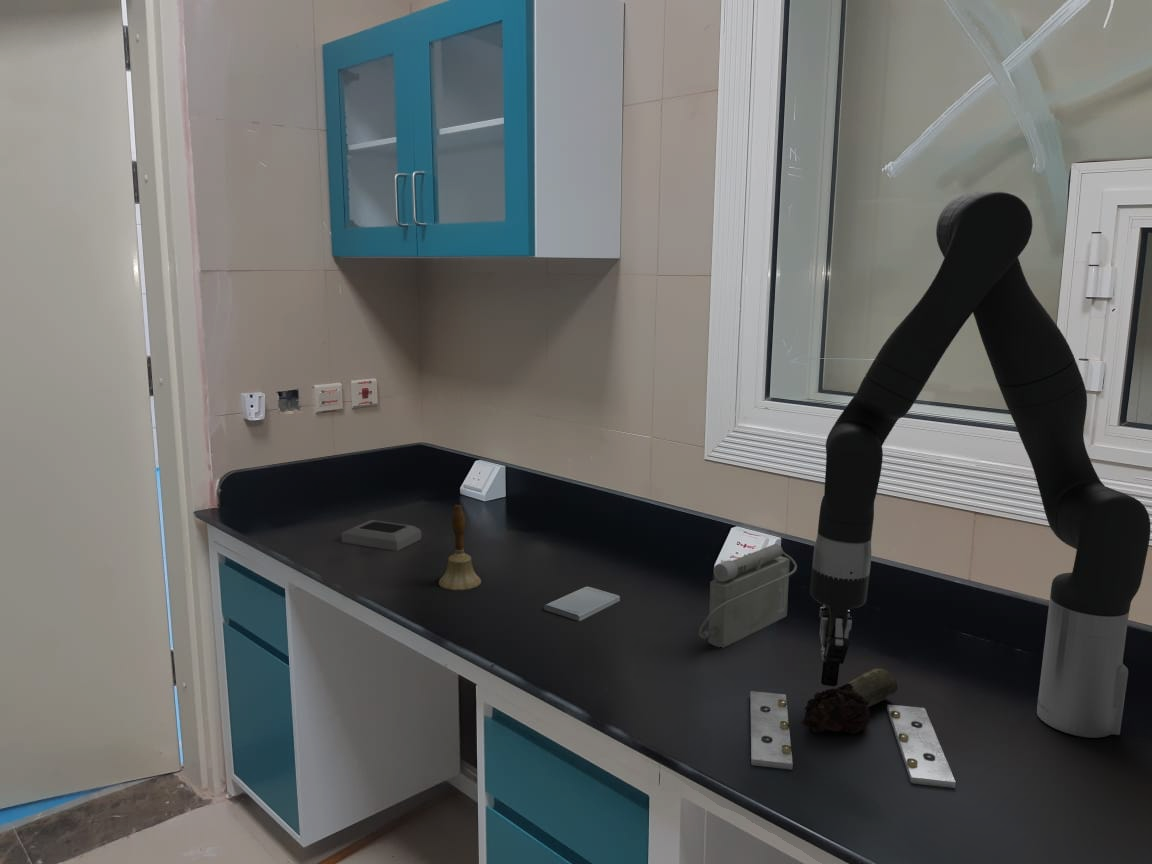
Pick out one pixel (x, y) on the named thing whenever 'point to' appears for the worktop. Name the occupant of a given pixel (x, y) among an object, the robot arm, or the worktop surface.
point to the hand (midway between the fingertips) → (828, 683)
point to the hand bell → (459, 559)
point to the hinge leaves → (907, 723)
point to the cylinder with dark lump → (849, 703)
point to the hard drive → (582, 603)
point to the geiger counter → (747, 595)
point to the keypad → (382, 535)
